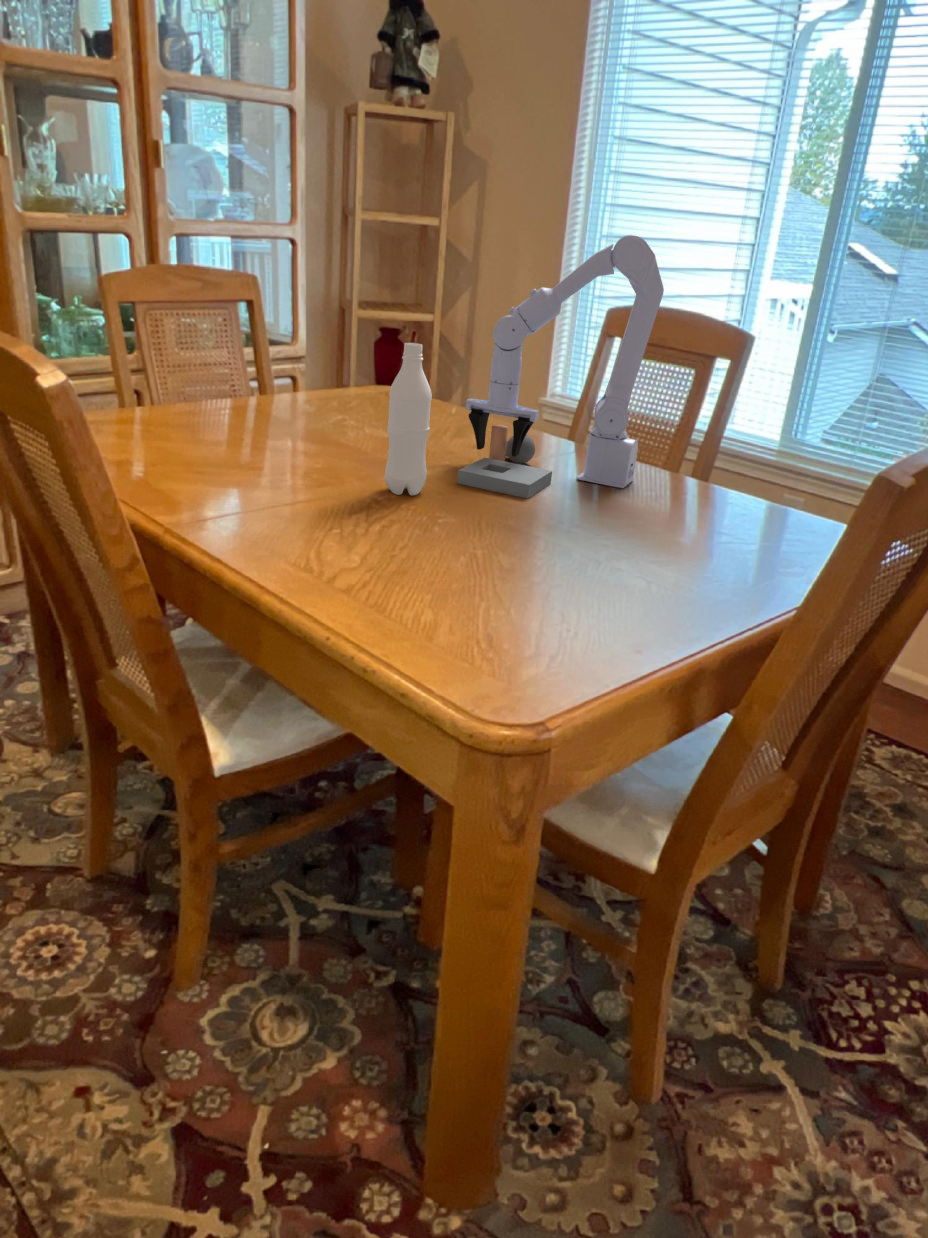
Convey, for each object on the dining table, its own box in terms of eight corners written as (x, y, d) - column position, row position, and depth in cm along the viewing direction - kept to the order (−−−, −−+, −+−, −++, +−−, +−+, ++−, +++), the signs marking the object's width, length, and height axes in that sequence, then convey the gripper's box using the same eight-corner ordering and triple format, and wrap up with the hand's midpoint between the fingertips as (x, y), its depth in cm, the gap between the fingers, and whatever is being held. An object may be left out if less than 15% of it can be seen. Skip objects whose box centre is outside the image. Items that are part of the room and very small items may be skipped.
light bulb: (515, 444, 187) (546, 443, 179) (503, 469, 186) (533, 469, 178) (496, 428, 183) (526, 427, 175) (483, 453, 182) (513, 453, 174)
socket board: (550, 483, 168) (552, 470, 167) (527, 498, 158) (529, 484, 157) (483, 469, 173) (484, 457, 172) (457, 483, 163) (458, 470, 162)
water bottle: (419, 500, 152) (429, 349, 141) (379, 494, 153) (386, 344, 143) (429, 489, 158) (439, 344, 148) (390, 483, 159) (398, 339, 149)
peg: (506, 466, 177) (510, 426, 174) (500, 469, 174) (504, 429, 171) (491, 463, 178) (495, 424, 175) (485, 466, 175) (489, 426, 172)
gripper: (547, 384, 170) (539, 454, 176) (478, 373, 175) (472, 441, 181) (534, 389, 164) (526, 461, 170) (463, 377, 169) (457, 448, 175)
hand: (497, 451), depth 175 cm, fingers open, 7 cm apart
